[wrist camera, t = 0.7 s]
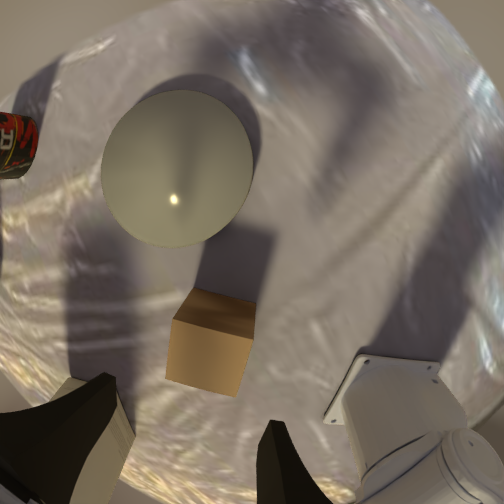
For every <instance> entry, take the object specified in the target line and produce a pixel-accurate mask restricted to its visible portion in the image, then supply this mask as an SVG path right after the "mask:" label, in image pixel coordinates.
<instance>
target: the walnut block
mask: <svg viewBox="0 0 504 504" xmlns="http://www.w3.org/2000/svg"><path fill="white" fill-rule="evenodd" d="M255 312H256V303H252V302H248V301H244V300H240V299H236V298H232V297H228V296H224V295H220V294H216V293H212V292H208V291H204V290H201V289H197V288H193V289H192V290H191V292H190V293H189V295H188V296H187V298H186V299H185V301H184V302H183V304H182V305H181V307H180V308H179V310H178V311H177V313H176V314H175V316H174V317H173V319H172V326H171V334H170V341H169V350H168V358H167V368H166V377H165V379H168V380H171V381H174V382H178V383H181V384H184V385H188V386H191V387H195V388H199V389H203V390H206V391H210V392H214V393H218V394H223V395H227V396H232V397H236V395H237V392H238V389H239V386H240V382H241V379H242V376H243V373H244V369H245V366H246V363H247V360H248V356H249V353H250V350H251V346H252V343H253V340H254V326H255Z"/></svg>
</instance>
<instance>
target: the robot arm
mask: <svg viewBox="0 0 504 504" xmlns="http://www.w3.org/2000/svg"><path fill="white" fill-rule="evenodd" d="M366 360H368V361H367V362H365V361H366ZM439 369H440V364H439V363H438V362H430V361H418V360H407V359H398V358H389V357H381V356H373V355H365V354H360V355H358V356H357V357H356V358H355V360H354V362H353V364H352V366H351V368H350V370H349V372H348V374H347V376H346V378H345V380H344V382H343V384H342V386H341V387H340V389H339V391H338V393H337V395H336V397H335V398H334V400H333V402H332V404H331V405H330V407H329V409H328V411H327V412H326V414H325V416H324V417H323V422H324V423H325V424H336V425H345V427H346V431H347V434H348V438H349V441H350V445H351V449H352V452H353V456H354V459H355V463H356V467H357V470H358V474H359V478H360V482H361V486H360V487H359V488H358V489H357V490H355V491H354V492H355V496H356V501H357V503H355V504H504V466H503V464H502V462H501V460H500V458H499V456H498V455H497V453H496V452H495V450H494V449H493V447H492V446H491V445H490V444H489V443H488V442H487V441H486V440H485V439H484V438H483V437H482V436H481V435H479V434H478V433H476V432H475V431H473V430H471V429H468V428H467V427H468V426H467V417H466V413H465V411H464V409H463V407H462V406H461V405H460V403H459V402H458V401H457V399H456V398H455V397H454V395H453V394H452V393H451V391H450V390H449V389H448V387H447V386H446V385H445V384H444V382H443V381H442V380H441V378H440V377H439V376H438V375H437V372H438V371H439ZM116 407H117V392H116V377H115V376H112V375H110V374H108V373H105V372H104V373H102V374H100V375H98V376H97V377H95V378H94V379H92V380H90V381H89V382H87V383H85V384H84V385H82V386H80V387H79V388H77V389H75V390H73V391H71V392H70V393H68V394H66V395H64V396H62V397H59V398H57V399H55V400H53V401H51V402H48V403H46V404H43V405H40V406H37V407H33V408H30V409H25V410H21V411H15V412H8V413H0V504H69V503H70V500H71V497H72V494H73V491H74V488H75V485H76V482H77V480H78V477H79V475H80V473H81V470H82V468H83V466H84V464H85V461H86V459H87V457H88V455H89V454H90V452H91V450H92V449H93V447H94V446H95V444H96V443H97V441H98V439H99V438H100V436H101V435H102V433H103V432H104V430H105V429H106V427H107V425H108V424H109V422H110V420H111V418H112V416H113V414H114V412H115V410H116ZM333 419H334V420H333ZM256 474H257V504H333V503H332V502H331V501H330V500H329V499H328V498H327V497H326V496H325V494H324V493H323V492H322V491H321V490H320V488H319V487H318V486H317V484H316V483H315V482H314V480H313V479H312V477H311V476H310V474H309V473H308V471H307V469H306V468H305V466H304V464H303V463H302V461H301V459H300V457H299V455H298V453H297V451H296V449H295V447H294V445H293V443H292V440H291V438H290V436H289V433H288V431H287V428H286V425H285V423H284V422H283V421H276V420H270V421H269V423H268V425H267V428H266V430H265V432H264V434H263V436H262V438H261V440H260V442H259V444H258V452H257V461H256Z"/></svg>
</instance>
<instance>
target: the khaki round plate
mask: <svg viewBox="0 0 504 504" xmlns="http://www.w3.org/2000/svg"><path fill="white" fill-rule="evenodd" d="M253 165H254V164H253V154H252V149H251V145H250V142H249V139H248V136H247V134H246V131H245V129H244V127H243V125H242V124H241V122H240V120H239V119H238V118H237V116H236V115H235V114H234V113H233V112H232V111H231V110H230V109H229V108H228V107H227V106H226V105H225V104H223V103H222V102H220V101H219V100H218V99H216V98H214V97H212V96H210V95H207V94H204V93H201V92H197V91H192V90H171V91H166V92H162V93H159V94H156V95H153V96H151V97H149V98H147V99H145V100H143V101H141V102H140V103H138V104H137V105H135V106H134V107H133V108H132V109H130V110H129V111H128V112H127V113H126V114H125V115H124V116H123V117H122V118H121V120H120V121H119V122H118V124H117V125H116V126H115V128H114V129H113V131H112V133H111V135H110V137H109V139H108V141H107V144H106V146H105V150H104V154H103V158H102V164H101V182H102V189H103V194H104V197H105V200H106V203H107V205H108V207H109V209H110V211H111V213H112V215H113V216H114V218H115V219H116V220H117V222H118V223H119V224H120V225H121V226H122V227H123V228H124V229H125V230H126V231H127V232H128V233H129V234H131V235H132V236H134V237H135V238H137V239H139V240H141V241H143V242H145V243H148V244H150V245H153V246H158V247H164V248H179V247H186V246H190V245H194V244H197V243H199V242H202V241H204V240H206V239H208V238H210V237H212V236H213V235H214V234H216V233H217V232H219V231H220V230H221V229H222V228H223V227H224V226H226V225H227V224H228V223H229V222H230V221H231V220H232V219H233V218H234V216H235V215H236V214H237V213H238V212H239V210H240V209H241V207H242V205H243V204H244V202H245V200H246V198H247V195H248V193H249V190H250V187H251V183H252V178H253Z"/></svg>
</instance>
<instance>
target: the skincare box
mask: <svg viewBox="0 0 504 504" xmlns="http://www.w3.org/2000/svg"><path fill="white" fill-rule="evenodd" d="M85 383H87V382H86V381H82V380H78V379H75V378H70V377H69V378H68V379H67V380H66V381H65V382H64V384H63V385H62V386H61V387H60V388H59V390H58V391H57V392H56V393H55V395H54V396H53V397H52V398H51V400H50V401H49V402H51V401H53V400H55V399H57V398H59V397H62V396H64V395H66V394H68V393H70V392H71V391H73V390H75V389H77V388H79V387H80V386H82V385H84V384H85ZM116 392H117V391H116ZM134 440H135V435H134V433H133V431H132V428H131V426H130V424H129V421H128V419H127V417H126V414H125V412H124V409H123V407H122V404H121V402H120V399H119V397H118V394H117V407H116V410H115V412H114V414H113V416H112V418H111V420H110V422H109V424H108V425H107V427H106V429H105V430H104V432H103V433H102V435H101V436H100V438H99V439H98V441H97V443H96V444H95V446H94V447H93V449H92V450H91V452H90V454H89V455H88V457H87V459H86V461H85V464H84V466H83V468H82V470H81V473H80V475H79V477H78V480H77V482H76V485H75V488H74V491H73V494H72V497H71V500H70V503H69V504H108V503H109V501H110V498H111V495H112V493H113V490H114V488H115V485H116V483H117V480H118V478H119V475H120V473H121V470H122V468H123V466H124V463H125V461H126V458H127V456H128V453H129V451H130V449H131V446H132V444H133V442H134Z"/></svg>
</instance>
